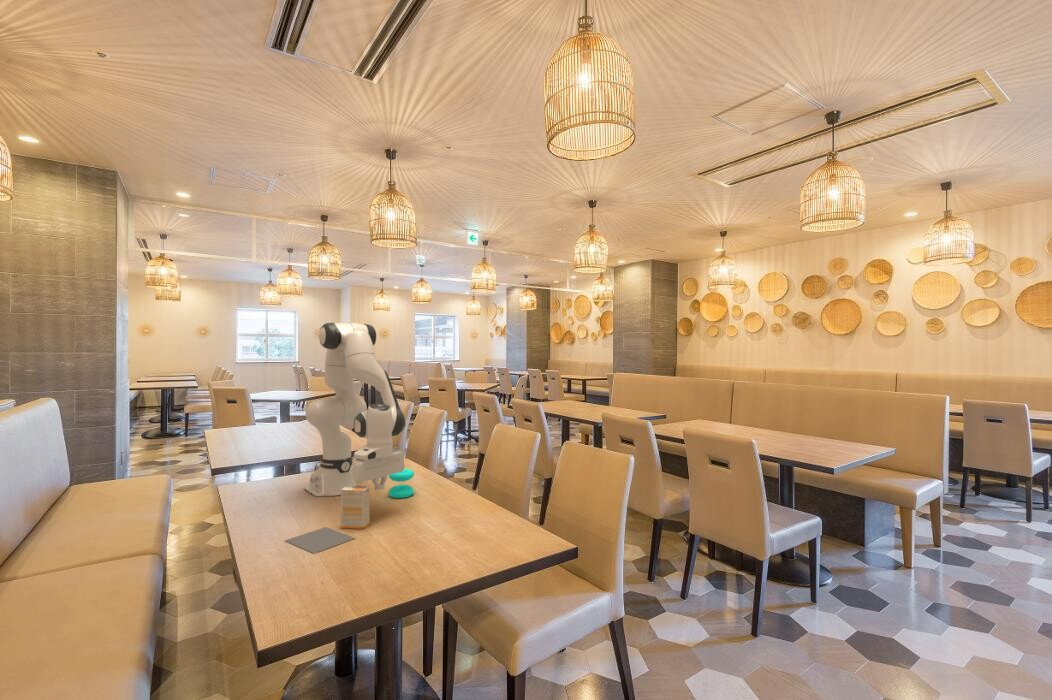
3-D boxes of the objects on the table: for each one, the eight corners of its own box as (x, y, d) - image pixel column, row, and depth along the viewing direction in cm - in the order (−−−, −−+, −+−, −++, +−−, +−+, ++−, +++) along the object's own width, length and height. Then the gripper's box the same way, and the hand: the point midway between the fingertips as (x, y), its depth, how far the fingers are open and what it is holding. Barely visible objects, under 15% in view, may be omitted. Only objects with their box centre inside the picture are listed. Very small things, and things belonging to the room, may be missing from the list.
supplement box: (370, 524, 165) (370, 486, 165) (364, 529, 161) (364, 490, 160) (346, 523, 166) (347, 485, 166) (340, 528, 161) (340, 489, 161)
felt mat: (284, 541, 150) (284, 540, 150) (325, 527, 162) (325, 526, 162) (314, 554, 141) (314, 553, 141) (355, 538, 153) (355, 538, 153)
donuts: (395, 467, 203) (418, 468, 201) (395, 490, 204) (417, 492, 202) (384, 473, 194) (407, 474, 192) (384, 498, 194) (407, 500, 192)
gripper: (396, 444, 182) (396, 481, 182) (349, 454, 165) (349, 494, 165) (408, 446, 178) (408, 484, 178) (361, 456, 161) (361, 498, 161)
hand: (379, 489), depth 171 cm, fingers closed
